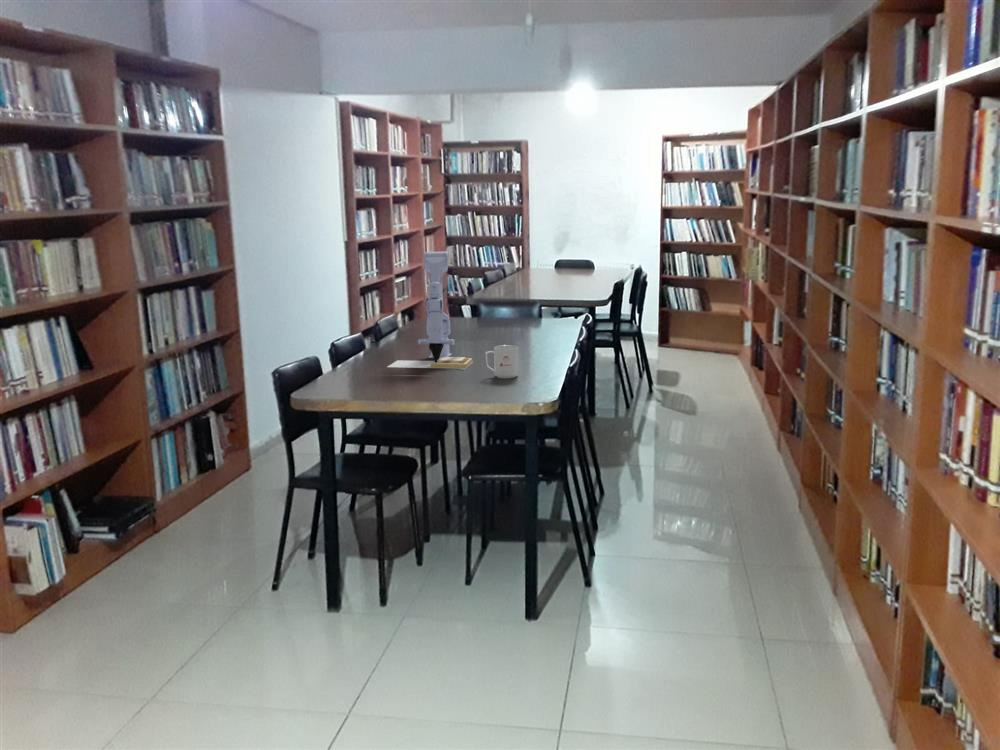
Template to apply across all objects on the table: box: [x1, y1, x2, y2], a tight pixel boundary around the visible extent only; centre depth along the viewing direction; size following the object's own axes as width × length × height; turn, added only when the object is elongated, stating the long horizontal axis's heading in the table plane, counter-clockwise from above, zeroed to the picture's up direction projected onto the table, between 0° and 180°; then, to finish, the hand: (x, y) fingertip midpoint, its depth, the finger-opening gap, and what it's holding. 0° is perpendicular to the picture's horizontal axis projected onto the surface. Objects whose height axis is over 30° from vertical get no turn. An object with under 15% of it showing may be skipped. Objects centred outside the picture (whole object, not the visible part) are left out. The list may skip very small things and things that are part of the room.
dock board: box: [387, 357, 474, 371], centre depth 352 cm, size 14×32×2 cm, turn 79°
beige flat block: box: [437, 356, 467, 364], centre depth 350 cm, size 10×7×2 cm
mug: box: [485, 344, 519, 379], centre depth 327 cm, size 12×9×11 cm
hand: (437, 362), depth 351 cm, fingers closed
